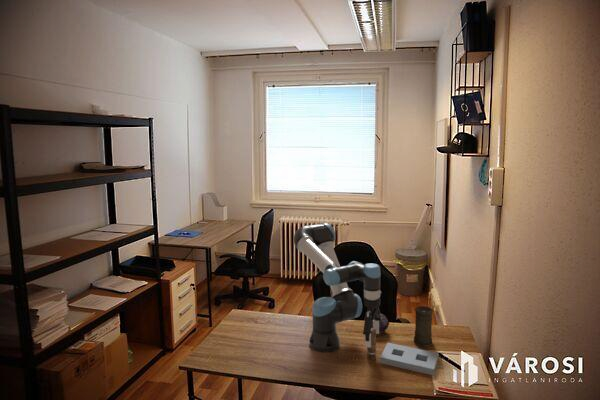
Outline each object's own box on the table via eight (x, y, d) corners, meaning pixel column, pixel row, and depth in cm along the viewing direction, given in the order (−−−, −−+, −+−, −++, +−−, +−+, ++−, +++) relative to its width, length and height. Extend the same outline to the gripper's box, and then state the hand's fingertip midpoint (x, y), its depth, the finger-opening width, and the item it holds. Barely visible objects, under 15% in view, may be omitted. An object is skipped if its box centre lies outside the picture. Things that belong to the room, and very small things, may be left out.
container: (433, 348, 203) (434, 314, 200) (414, 346, 205) (415, 312, 202) (431, 339, 212) (432, 306, 209) (413, 337, 214) (414, 305, 210)
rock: (370, 338, 217) (390, 338, 216) (370, 324, 214) (390, 324, 213) (369, 324, 228) (387, 324, 227) (369, 310, 225) (387, 310, 224)
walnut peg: (366, 358, 196) (366, 331, 193) (368, 354, 200) (368, 327, 197) (374, 360, 194) (374, 333, 192) (376, 356, 198) (377, 329, 195)
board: (380, 362, 192) (380, 357, 192) (387, 348, 204) (387, 342, 204) (433, 375, 182) (434, 369, 181) (438, 359, 194) (438, 353, 194)
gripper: (372, 309, 179) (372, 354, 182) (386, 288, 201) (386, 329, 204) (355, 306, 182) (356, 351, 185) (371, 286, 204) (371, 326, 208)
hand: (372, 339), depth 195 cm, fingers open, 13 cm apart
